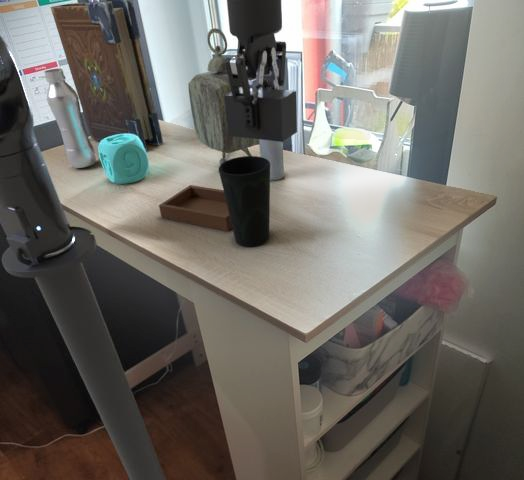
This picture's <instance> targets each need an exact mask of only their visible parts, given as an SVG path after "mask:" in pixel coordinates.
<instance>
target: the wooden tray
mask: <svg viewBox="0 0 524 480" xmlns="http://www.w3.org/2000/svg"><path fill="white" fill-rule="evenodd" d="M158 208H159V213H160V216H161V219H165V220H170V221H173V222H179V223H184V224H190V225H195V226H200V227H205V228H210V229H215V230H220V231H225V232H229V231H230V230H231V229H233V228H232V224H231V219H230V215H229V211H228V207H227V203H226V199H225V194H224V190H223V189H220V188H219V189H218V188H212V187H206V186H199V185H192V184H190V185H188V186H186V187H185V188H183V189H182V190H180V191H179V192H177V193H175V194H174V195H172V196H171V197H170V198H168V199H166V200H165V201H164V202H162V203H160V204H158Z"/></svg>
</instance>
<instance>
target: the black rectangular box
mask: <svg viewBox="0 0 524 480" xmlns="http://www.w3.org/2000/svg"><path fill="white" fill-rule="evenodd" d="M250 92H251V95H252V88H250ZM239 93H241V87H240V88H239ZM224 99H225V109H226V118H227V127H228V136H235V137H244V138H252V139H261V140H270V141H279V142H285V141H287V140H288V139H289V138H290V137H293V135H295V134H296V133H298V107H297V105H298V104H297V102H298V101H297V90H293V89H292V90H290V89H279V90H276V89H262V88H261V87H260V88H259V95H258V103H257V104H258V108H259V123H260V128H259V129H258V130H257V131H250V130H247V129H246V127H245V119H244V108H243V104H241V103H239V102H234V100H233V96H232V92H230V93H228V94H225V95H224Z"/></svg>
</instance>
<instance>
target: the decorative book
mask: <svg viewBox="0 0 524 480" xmlns="http://www.w3.org/2000/svg"><path fill="white" fill-rule="evenodd" d="M133 1H134V0H105V1H89V2H75V3H73V2H71V3H65V4H60V5H53V6H50V10H51V13H52V16H53V21H54V23H55V27H56V30H57V33H58V37H59V39H60V42H61V46H62V49H63V52H64V55H65V59H66V61H67V64H68V68H69V71H70V74H71V78H72V81H73V83H74V87H75V92H76V93H77V95H78V99H79V104H80V108H81V109H82V113H83V117H84V118H85V123H86V126H87V129H88V132H89V135H90V138H91V139H92V140H96V141H101V140H103V139H104V138H106V137H109V136H112V135H117V134H126V133H128V134H135V135H136V136H138V137H139V139H140V140H141V142H142V143H143V146H144V148H145V150H146V152H147V151H148V148H147V144H149V145H153V146H157V147H159V146H162V145H164V139H163V134H162V131H161V126H160V122H159V117H158V112H156V111H155V106H154V102H153V97H152V96H153V95H152V92H151V88H150V83H149V79H148V74H147V69H146V65H145V60H144V56H143V51H142V47H141V43H140V39H141V33H140V29H139V25H138V19H137V15H136V11H135V5H134V2H133Z"/></svg>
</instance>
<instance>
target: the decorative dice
mask: <svg viewBox="0 0 524 480" xmlns="http://www.w3.org/2000/svg"><path fill="white" fill-rule="evenodd" d="M99 141H100V140H99ZM97 152H98V153H97V154H98V157H99V160H100V163H101V166H102V169H103V171H104V173H105V175H106V177H107V178H108V179H109V181H110V182H112V183H113V184H117V185H128V184H133V183H136V182H139V181H141V180H143V179H144V178H146V176H147V174H148V173H149V170H150V162H149V157H148V154H147V151H146V150H145V148H144V146H143V143H142V142H141V140H140V139H139V137H138V136H136V135H135V134H128V133H126V134H117V135H112V136H109V137H106V138H104V139H103V140H101V141H100V142H99V143H98V146H97Z"/></svg>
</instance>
